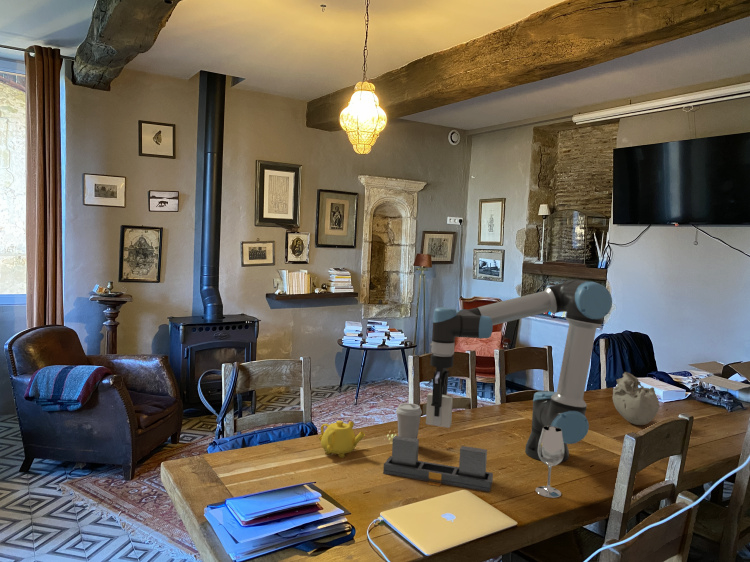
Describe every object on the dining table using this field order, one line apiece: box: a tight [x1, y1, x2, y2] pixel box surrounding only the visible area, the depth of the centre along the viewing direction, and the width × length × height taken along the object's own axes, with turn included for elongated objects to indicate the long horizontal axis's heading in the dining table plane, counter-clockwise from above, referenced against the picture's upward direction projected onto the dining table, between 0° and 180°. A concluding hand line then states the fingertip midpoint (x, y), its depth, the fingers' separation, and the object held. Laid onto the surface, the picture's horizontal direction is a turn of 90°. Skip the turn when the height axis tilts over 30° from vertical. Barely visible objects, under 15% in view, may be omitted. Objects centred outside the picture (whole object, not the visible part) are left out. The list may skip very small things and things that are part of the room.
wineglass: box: [535, 426, 564, 499], centre depth 170 cm, size 8×8×20 cm
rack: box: [382, 435, 494, 493], centre depth 177 cm, size 34×10×11 cm, turn 72°
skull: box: [612, 371, 661, 426], centre depth 244 cm, size 20×15×22 cm
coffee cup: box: [395, 402, 423, 439], centre depth 205 cm, size 10×10×15 cm
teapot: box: [318, 420, 366, 458], centre depth 196 cm, size 14×14×11 cm
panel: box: [425, 392, 454, 428], centre depth 185 cm, size 8×3×10 cm, turn 70°
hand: (438, 423), depth 186 cm, fingers closed on panel, 3 cm apart
